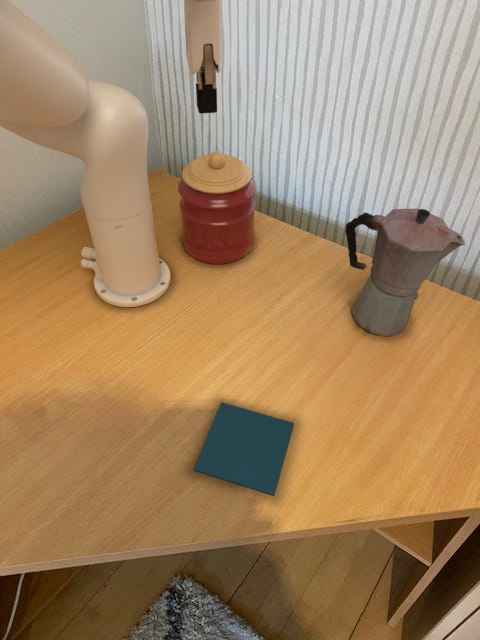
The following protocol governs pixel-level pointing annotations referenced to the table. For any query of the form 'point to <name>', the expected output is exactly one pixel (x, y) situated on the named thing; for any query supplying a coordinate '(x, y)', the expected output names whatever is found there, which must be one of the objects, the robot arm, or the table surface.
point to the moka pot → (397, 265)
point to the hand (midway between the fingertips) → (207, 109)
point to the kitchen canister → (217, 208)
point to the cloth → (245, 448)
